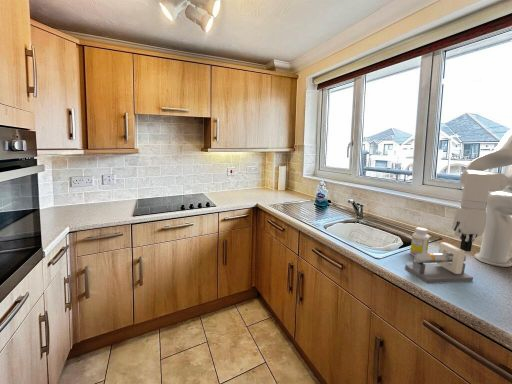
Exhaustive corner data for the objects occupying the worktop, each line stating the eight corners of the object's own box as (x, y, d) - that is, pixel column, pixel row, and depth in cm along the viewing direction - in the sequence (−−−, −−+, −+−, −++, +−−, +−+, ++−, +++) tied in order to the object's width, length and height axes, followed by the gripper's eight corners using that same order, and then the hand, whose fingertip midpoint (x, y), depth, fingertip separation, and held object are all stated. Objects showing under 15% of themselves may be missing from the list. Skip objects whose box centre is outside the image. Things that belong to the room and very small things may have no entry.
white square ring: (442, 263, 111) (445, 242, 109) (461, 273, 102) (465, 251, 100) (436, 263, 110) (440, 242, 109) (455, 273, 102) (459, 251, 100)
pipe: (455, 267, 109) (458, 250, 107) (463, 272, 105) (467, 254, 104) (412, 269, 107) (414, 251, 105) (419, 274, 103) (421, 256, 101)
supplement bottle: (420, 252, 128) (424, 226, 125) (429, 258, 121) (434, 231, 119) (406, 252, 127) (410, 226, 125) (415, 258, 121) (419, 231, 119)
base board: (446, 266, 113) (447, 263, 113) (472, 281, 101) (473, 277, 101) (405, 268, 111) (405, 264, 111) (426, 283, 99) (426, 279, 99)
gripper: (481, 202, 107) (473, 246, 110) (447, 202, 105) (440, 246, 108) (500, 207, 99) (491, 253, 103) (464, 207, 98) (456, 254, 101)
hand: (465, 250), depth 105 cm, fingers closed
